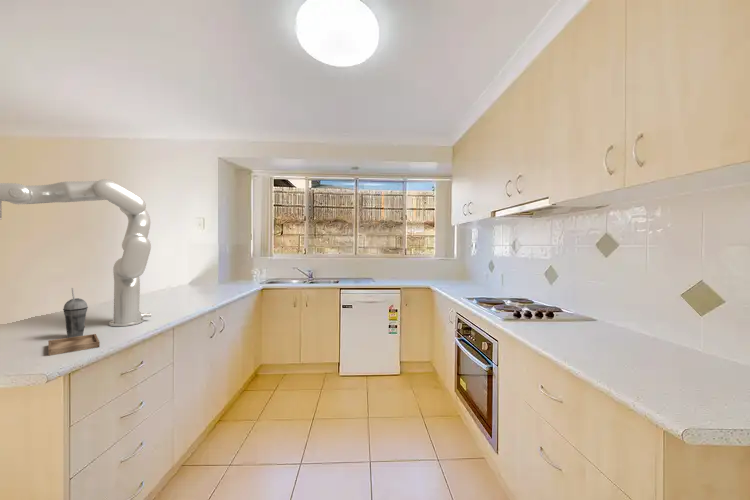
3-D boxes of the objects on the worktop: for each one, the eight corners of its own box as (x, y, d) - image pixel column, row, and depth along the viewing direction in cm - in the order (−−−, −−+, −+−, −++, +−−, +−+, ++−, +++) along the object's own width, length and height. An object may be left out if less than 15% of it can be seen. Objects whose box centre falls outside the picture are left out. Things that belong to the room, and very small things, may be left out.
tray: (95, 338, 123) (95, 333, 123) (99, 347, 114) (99, 341, 114) (48, 345, 113) (48, 340, 113) (48, 355, 104) (48, 349, 104)
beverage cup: (92, 335, 127) (92, 287, 127) (70, 340, 120) (71, 289, 120) (79, 333, 129) (80, 285, 129) (57, 338, 122) (58, 288, 122)
